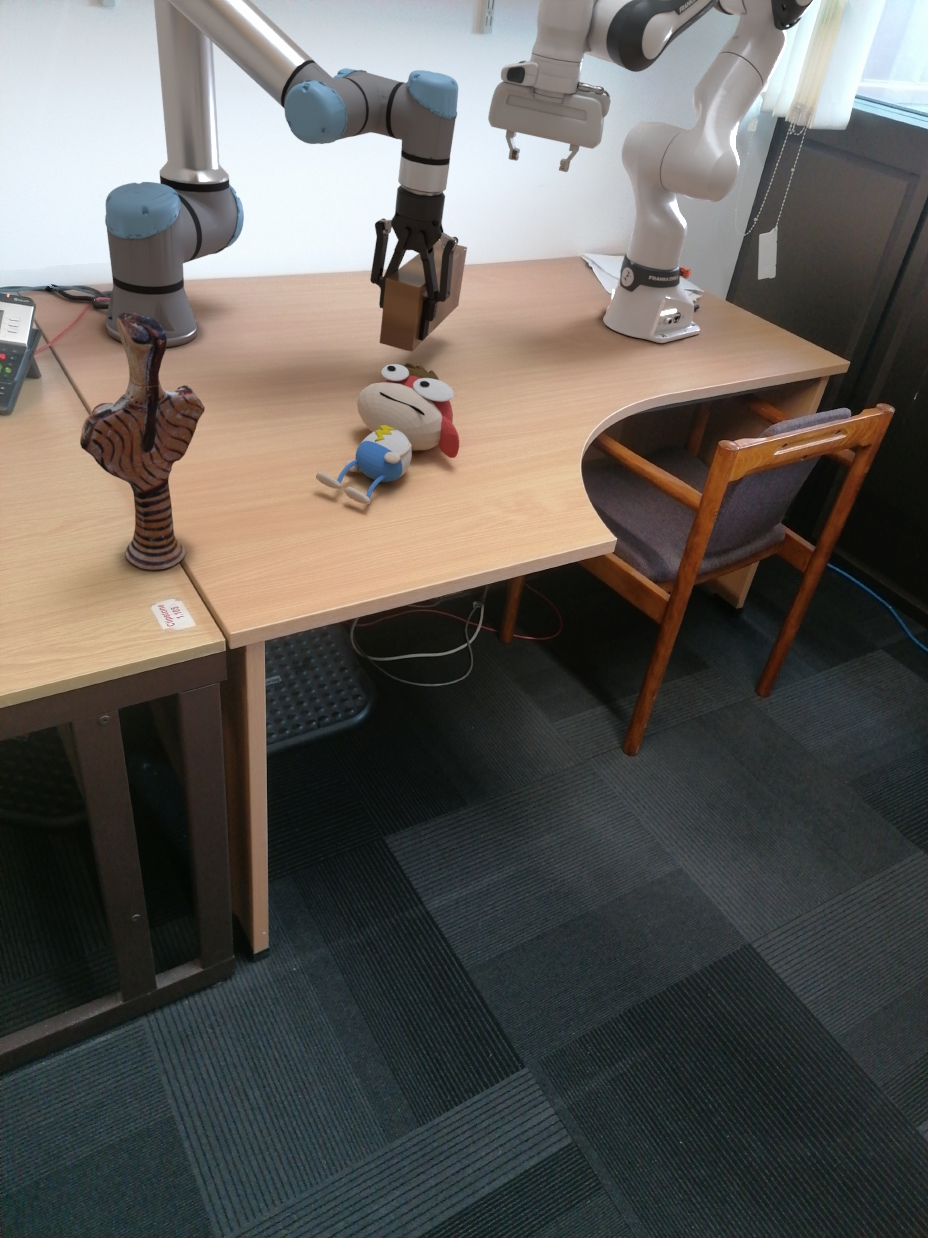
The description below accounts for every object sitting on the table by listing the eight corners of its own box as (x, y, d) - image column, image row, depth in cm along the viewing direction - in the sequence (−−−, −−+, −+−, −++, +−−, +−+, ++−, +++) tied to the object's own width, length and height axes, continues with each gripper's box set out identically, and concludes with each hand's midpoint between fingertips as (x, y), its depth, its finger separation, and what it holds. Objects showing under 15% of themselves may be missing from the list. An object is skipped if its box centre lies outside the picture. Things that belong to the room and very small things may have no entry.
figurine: (185, 519, 115) (170, 285, 96) (226, 544, 112) (219, 308, 93) (85, 564, 105) (47, 314, 86) (127, 593, 102) (97, 341, 83)
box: (412, 352, 149) (420, 287, 143) (379, 343, 150) (385, 278, 143) (458, 305, 170) (467, 246, 163) (429, 297, 171) (437, 239, 164)
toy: (278, 428, 121) (396, 343, 140) (277, 485, 128) (389, 398, 148) (391, 486, 117) (497, 391, 136) (384, 542, 124) (485, 444, 143)
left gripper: (486, 197, 139) (463, 339, 154) (373, 169, 142) (361, 311, 156) (472, 207, 134) (450, 354, 148) (356, 178, 136) (345, 325, 151)
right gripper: (616, 86, 152) (597, 174, 160) (502, 63, 155) (489, 150, 163) (610, 90, 147) (591, 180, 156) (492, 66, 150) (480, 155, 159)
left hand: (404, 332), depth 152 cm, fingers closed on box, 6 cm apart
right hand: (538, 164), depth 160 cm, fingers open, 8 cm apart
